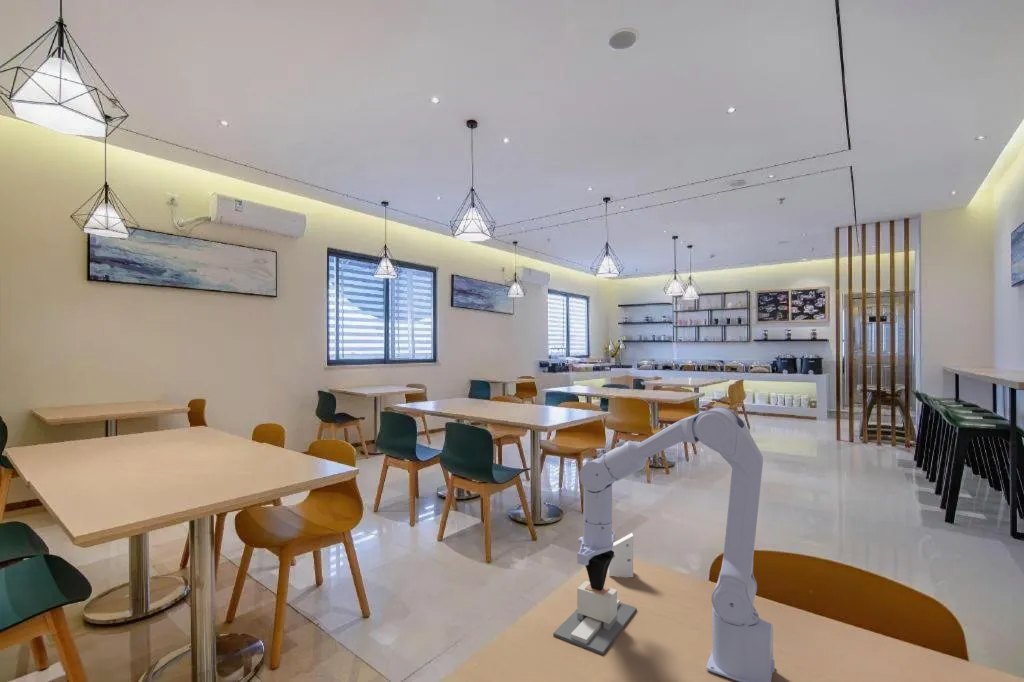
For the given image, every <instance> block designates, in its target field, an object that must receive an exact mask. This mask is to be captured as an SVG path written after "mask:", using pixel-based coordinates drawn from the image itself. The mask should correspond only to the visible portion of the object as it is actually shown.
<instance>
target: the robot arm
mask: <svg viewBox="0 0 1024 682" xmlns="http://www.w3.org/2000/svg"><path fill="white" fill-rule="evenodd" d="M682 442H683V443H689V444H694V445H695V444H697V443H698V442H700V443H701V444H702V445H704V446H706V447H708V448H710V449H711V450H713V451H714V452H716V453H718V454H719V455H720V456H721V457H722V458H723V459H724V460H725V461H726V462H727V464H729V465H730V467H731V477H730V478H731V479H730V486H729V496H728V506H727V517H726V526H725V536H724V546H723V555H722V556H723V557H722V562H721V567H720V571H719V574H718V578H717V582H716V585H715V587H714V589H713V591H712V593H711V597H710V598H711V605H712V607H711V608H712V610H711V611H712V616H711V623H712V625H711V626H712V627H711V630H712V631H711V633H712V634H711V635H712V639H711V640H712V642H711V643H712V646H711V647H712V649H711V652H710V656H709V658H708V660H707V663H706V666H705V669H706V670H707V671H708V672H711V673H714V674H717V675H720V676H722V677H726V678H727V679H730V680H733V681H736V682H772V680H773V673H775V668H776V667H775V664H776V663H775V659H774V625H773V624H772V623H771V622H770V621H769V622H768V621H767V620H765V619H763V618H761V617H760V616H759V612H757V609H756V607H755V606H754V605H755V598H756V594H757V592H758V583H757V580H756V578H755V576H754V553H755V545H756V535H757V525H758V515H759V514H758V513H759V504H760V496H761V495H760V494H761V487H762V474H763V464H764V458H763V454H762V453H761V451H760V449H759V447H758V445H757V444H756V442H755V440H754V438H753V437H752V435H751V433H750V431H749V429H748V427H747V424H746V423H745V420H743V419H742V418H741V417H740V416H739V415H738V414H736V412H734V411H733V410H732V409H730V408H729V407H725V406H720V405H719V406H714V407H711V408H710V409H708V410H707V411H704V412H703V411H702V412H699V413H695V414H692V415H689V416H687V417H684V418H681V419H680V420H677V421H676V422H674V423H672V424H671V425H668V426H667V427H665V428H663V429H662V430H660V431H658V432H656V433H655V434H654V435H651V436H649V437H648V438H646V439H644V440H642V441H641V442H636V441H633V440H626V441H625V440H624V439H623V440H620V441H619V442H617V443H616V446H617V447H614V448H613V449H611V450H608V451H607V452H605V453H604V451H602V452H601V453H599V454H597V458H594V459H593V460H591V461H590V460H589V461H587V462H585V463H584V465H582V467H581V468H580V469H579V470H580V471H579V481H580V484H581V485H582V487H583V509H582V510H583V513H582V514H583V516H582V518H583V519H582V520H583V522H582V523H583V525H582V532H583V533H582V536H580V537H578V539H577V543H578V544H579V543H580V548H579V551H578V552H577V554H576V555H577V557H576V558H577V559H576V560H577V561H576V563H577V564H579V565H583V566H585V568H586V569H585V570H586V572H587V575H588V581H589V582H590V585H591V588H592V589H596V590H599V591H601V590H602V589H603V587H604V586H605V584H606V579H607V575H608V567H609V565H610V562H611V560H612V558H613V557H614V552H613V551H612V548H613V543H614V542H616V532H615V531H613V484H614V482H619V481H621V480H622V479H624V478H627V477H629V476H631V475H632V474H635V473H637V472H639V471H640V470H642V469H644V468H645V467H646V466H647V465H646V464H647V462H648V461H647V460H648V458H650V457H652V456H654V455H656V454H658V453H660V452H663V451H665V450H667V449H668V448H671V447H673V446H675V445H677V444H680V443H682Z"/></svg>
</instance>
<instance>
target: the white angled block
mask: <svg viewBox="0 0 1024 682" xmlns="http://www.w3.org/2000/svg"><path fill="white" fill-rule="evenodd" d="M612 551H613V552H614V557H613V558H612V560H611V562H610V565H609V567H608V571H607V575H608V576H609V577H611V576H620V577H619V578H628V577H633V578H634V534H633V532H631V533H629V534H627V535H626V536H623V537H621V538H620V539H618V540H615V542H613V548H612Z"/></svg>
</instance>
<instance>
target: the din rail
mask: <svg viewBox="0 0 1024 682" xmlns="http://www.w3.org/2000/svg"><path fill="white" fill-rule="evenodd" d="M637 609H638V608H637V607H635V606H633V605H629V604H626V603H624V602H621V600H620V599H618V598H617V621H616V622H615V624H614V625H613V626H612V627H611V629H610V630H607V629H605V628H603V621H600V620H597V619H594V618H591V617H588V616H587V617H586V618H585V619H584V620H583V621H582V620H579V619H577V609H576V610H574V612H573V613H572V614H570V616H568V617H567V619H565V620H564V622H563V623H562V624H561V625H560V626H559V627H558V628H557V629H555V631H554V632H553V633H552V634H553V637H556V638H559V639H560V640H563V641H567V642H568V643H571V644H574V645H576V646H579V647H581V648H584V649H586V650H589V651H592V652H594V653H597V654H600V655H603V656H604V654H605V653H606V651H608V649H609V647H611V644H613V642H614V641H615V639H617V637H618V636H619V635H620V633H621V632H622V631H623V629H624V628H625V626H626V625H627V623H628V622H629V621H630V619H631V618H632V617H633V615H634V614H635V613H636V612H637Z"/></svg>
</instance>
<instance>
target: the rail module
mask: <svg viewBox="0 0 1024 682" xmlns="http://www.w3.org/2000/svg"><path fill="white" fill-rule="evenodd" d="M576 594H577V595H576V596H577V599H576V601H577V602H576V603H577V604H576V605H577V606H576V607H577V608H576V610H577V619H579V620H582V621H583V620H584V619H585V618H586V617H587V616H588V617H591V618H594V619H597V620H600V621H603V628H605V629H607V630H610V629H611V627H612V626H613V625H614V624H615V622H616V621H617V599H618V590H617V589H616V588H612V587H609V586H605V585H604V587H603V589H602V590H601V591H599V590H596V589H592V588H591V585H590V581H589V580H584V581H583V583H582V584H581V585H580V586H578V587H577V593H576Z"/></svg>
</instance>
